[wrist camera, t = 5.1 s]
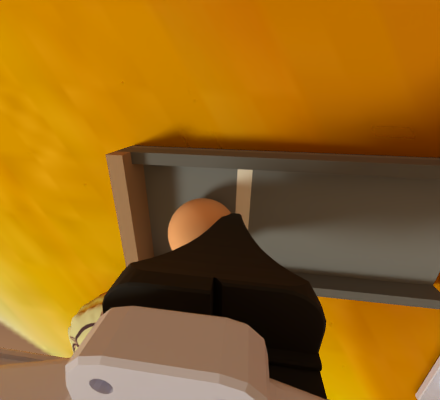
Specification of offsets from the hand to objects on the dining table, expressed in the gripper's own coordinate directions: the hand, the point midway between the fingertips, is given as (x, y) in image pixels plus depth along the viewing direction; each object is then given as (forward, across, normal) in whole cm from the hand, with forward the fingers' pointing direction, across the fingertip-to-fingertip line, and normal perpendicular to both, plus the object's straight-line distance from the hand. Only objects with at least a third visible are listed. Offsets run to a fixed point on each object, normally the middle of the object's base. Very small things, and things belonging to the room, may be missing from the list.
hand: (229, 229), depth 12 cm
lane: (+2, -3, 0) cm, 4 cm away
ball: (0, +1, 0) cm, 1 cm away
